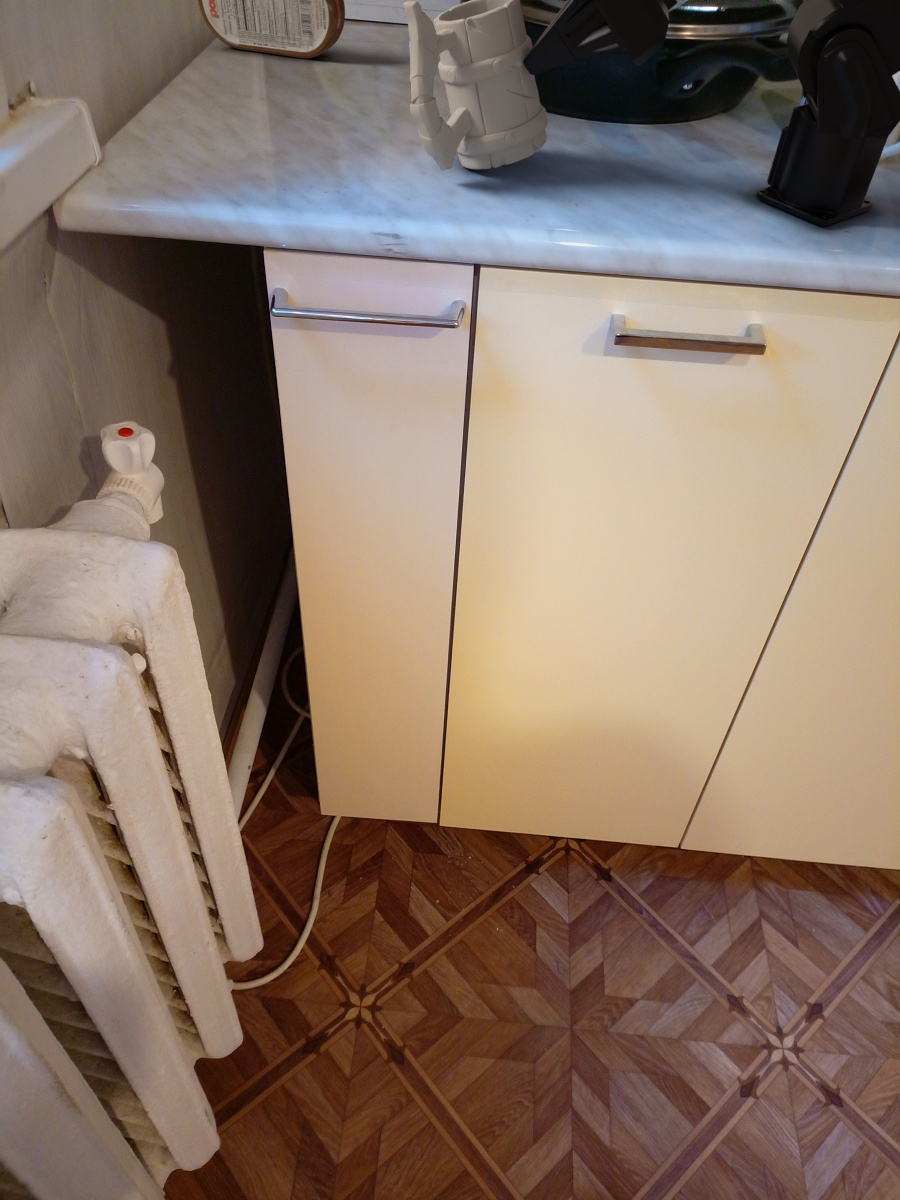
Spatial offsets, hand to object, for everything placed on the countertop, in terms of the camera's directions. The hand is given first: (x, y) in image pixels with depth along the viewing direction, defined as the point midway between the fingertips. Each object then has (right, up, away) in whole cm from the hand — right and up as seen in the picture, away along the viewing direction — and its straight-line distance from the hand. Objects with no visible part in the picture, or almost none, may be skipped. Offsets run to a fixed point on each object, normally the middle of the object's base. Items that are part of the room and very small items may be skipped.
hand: (527, 67), depth 62 cm
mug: (-3, -4, +5) cm, 7 cm away
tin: (-24, +17, +26) cm, 39 cm away
